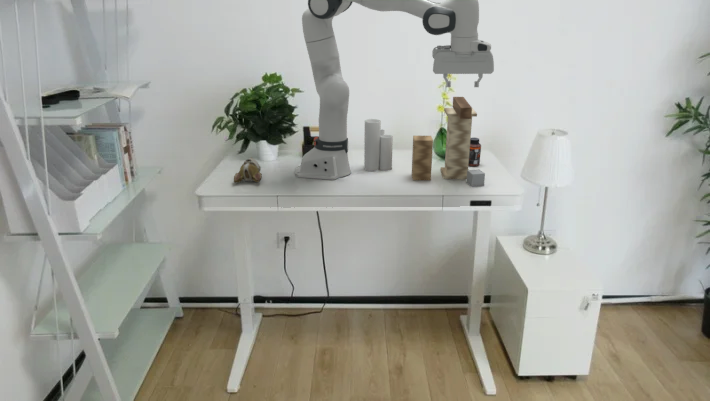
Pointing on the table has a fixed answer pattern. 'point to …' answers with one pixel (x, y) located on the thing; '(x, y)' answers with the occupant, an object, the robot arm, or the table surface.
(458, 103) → the walnut rail
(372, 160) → the vase
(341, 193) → the table surface
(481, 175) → the grey block
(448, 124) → the birch stand
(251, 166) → the ceramic sculpture
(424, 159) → the oak post
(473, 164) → the supplement bottle
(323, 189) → the table surface
